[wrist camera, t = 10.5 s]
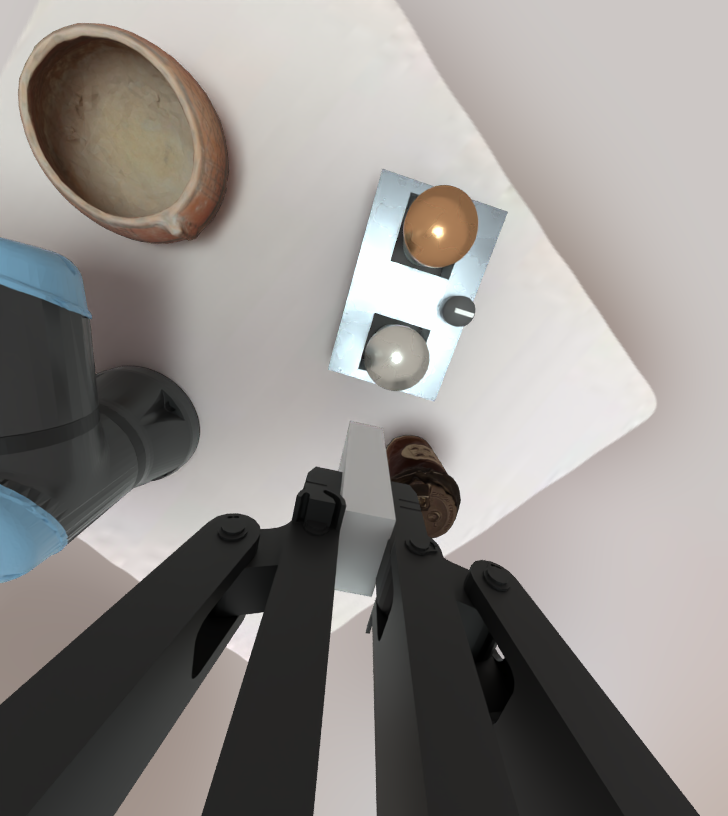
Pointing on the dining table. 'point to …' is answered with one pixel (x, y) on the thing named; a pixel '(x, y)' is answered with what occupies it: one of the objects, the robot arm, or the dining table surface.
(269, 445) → the dining table surface
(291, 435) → the dining table surface
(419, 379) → the white light bulb
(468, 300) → the knob
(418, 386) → the mount
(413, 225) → the orange light bulb
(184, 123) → the bowl
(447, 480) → the coffee cup
